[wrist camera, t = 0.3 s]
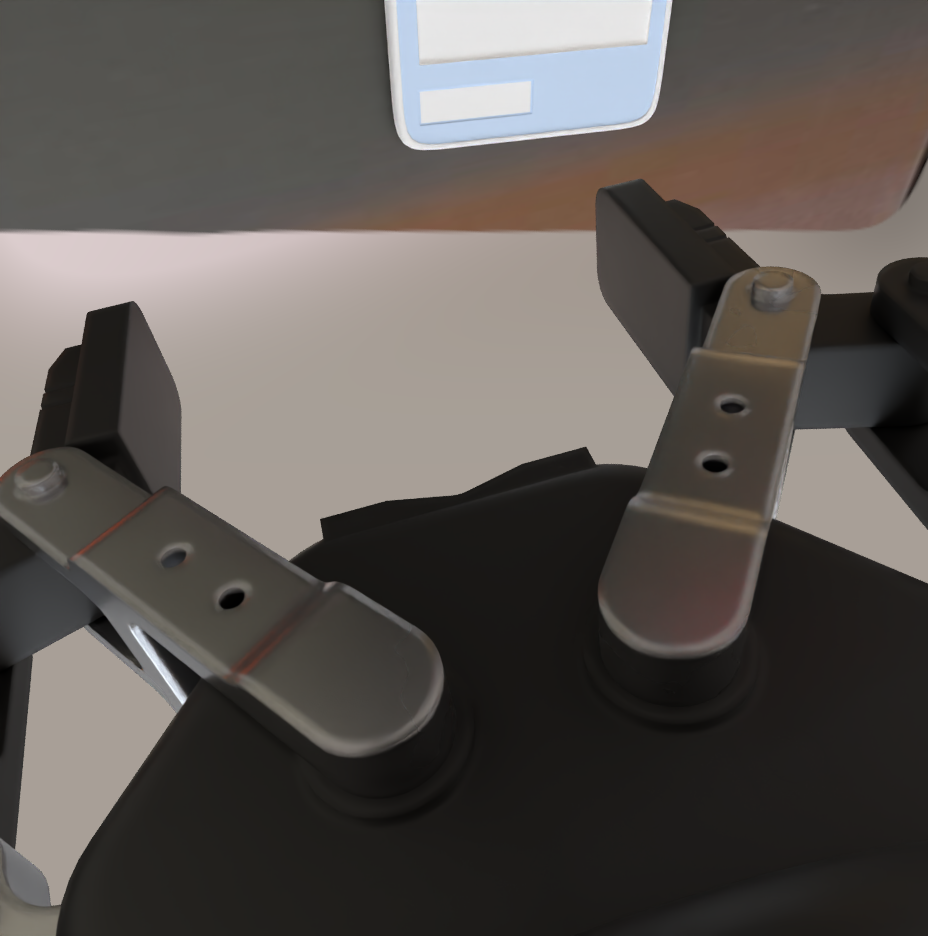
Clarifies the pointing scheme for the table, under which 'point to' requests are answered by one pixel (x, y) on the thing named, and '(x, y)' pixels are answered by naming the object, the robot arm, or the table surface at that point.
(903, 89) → the table surface
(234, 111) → the table surface
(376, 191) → the table surface
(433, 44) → the calculator
